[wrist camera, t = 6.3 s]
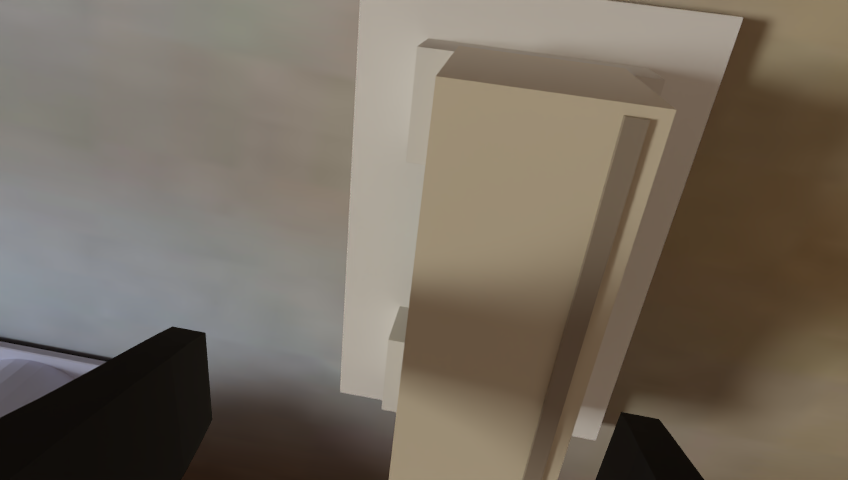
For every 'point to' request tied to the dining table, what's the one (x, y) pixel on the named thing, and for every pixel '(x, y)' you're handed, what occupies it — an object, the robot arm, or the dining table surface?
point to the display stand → (409, 132)
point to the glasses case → (518, 258)
